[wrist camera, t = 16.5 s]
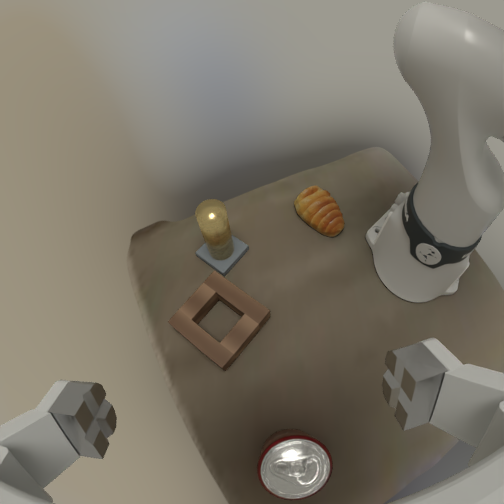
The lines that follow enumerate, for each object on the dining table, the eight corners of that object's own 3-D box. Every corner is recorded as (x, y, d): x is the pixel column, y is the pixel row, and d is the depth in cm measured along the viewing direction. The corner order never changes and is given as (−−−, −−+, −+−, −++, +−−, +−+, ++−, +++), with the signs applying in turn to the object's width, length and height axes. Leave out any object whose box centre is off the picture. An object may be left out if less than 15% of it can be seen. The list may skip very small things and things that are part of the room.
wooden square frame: (217, 279, 46) (214, 270, 44) (270, 317, 43) (270, 310, 40) (174, 327, 43) (167, 321, 40) (225, 371, 39) (222, 368, 37)
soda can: (323, 434, 34) (343, 442, 23) (307, 482, 30) (320, 507, 20) (270, 422, 35) (269, 427, 25) (254, 470, 32) (247, 492, 21)
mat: (221, 230, 51) (220, 227, 50) (248, 248, 49) (248, 245, 48) (196, 255, 49) (195, 252, 48) (224, 276, 46) (223, 273, 46)
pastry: (352, 227, 50) (357, 214, 46) (322, 246, 48) (325, 233, 45) (318, 192, 54) (320, 177, 51) (289, 207, 53) (289, 193, 49)
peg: (220, 233, 49) (210, 194, 40) (239, 247, 48) (232, 208, 39) (203, 250, 48) (189, 213, 39) (222, 265, 46) (210, 229, 38)
